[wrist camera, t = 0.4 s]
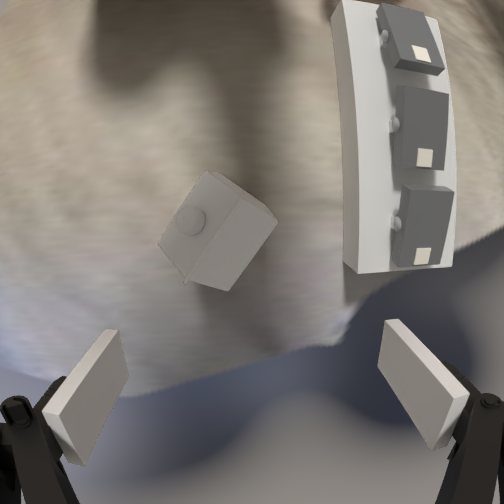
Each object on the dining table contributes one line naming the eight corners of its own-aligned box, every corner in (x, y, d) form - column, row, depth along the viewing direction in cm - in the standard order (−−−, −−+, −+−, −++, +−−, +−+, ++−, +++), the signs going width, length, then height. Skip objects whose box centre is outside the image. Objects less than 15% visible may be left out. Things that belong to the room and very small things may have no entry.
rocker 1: (373, 13, 29) (379, 1, 26) (416, 23, 29) (425, 12, 26) (390, 69, 28) (399, 57, 26) (436, 78, 29) (447, 68, 26)
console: (329, 18, 34) (343, -6, 27) (420, 34, 34) (443, 18, 28) (342, 260, 42) (360, 276, 35) (432, 255, 42) (459, 268, 35)
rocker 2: (398, 183, 31) (409, 190, 29) (444, 184, 32) (456, 192, 29) (388, 257, 36) (396, 268, 33) (431, 254, 36) (441, 264, 33)
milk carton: (266, 205, 40) (286, 230, 21) (233, 251, 41) (226, 311, 23) (218, 172, 39) (197, 168, 20) (187, 219, 40) (141, 255, 22)
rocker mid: (392, 84, 29) (403, 84, 27) (438, 93, 29) (451, 94, 27) (389, 162, 33) (399, 167, 31) (434, 165, 33) (445, 171, 31)
